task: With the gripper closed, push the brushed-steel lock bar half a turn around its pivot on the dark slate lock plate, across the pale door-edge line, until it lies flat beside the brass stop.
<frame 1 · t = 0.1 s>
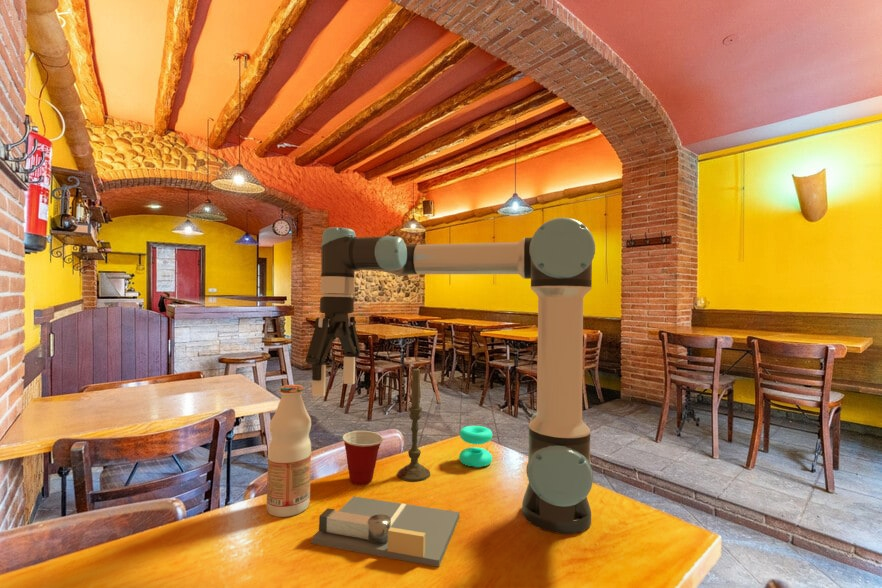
hand: (334, 389, 93), 28 cm above the table, tool pointing down, fingers open, 13 cm apart
plastic cup: (362, 481, 109), on the table
candlestick holder: (414, 475, 114), on the table
lock plate: (390, 529, 86), on the table
lock bar: (355, 524, 82), point 3 cm above the table, hinge at 0.0°
donuts: (475, 463, 124), on the table
fruit juice: (288, 508, 95), on the table
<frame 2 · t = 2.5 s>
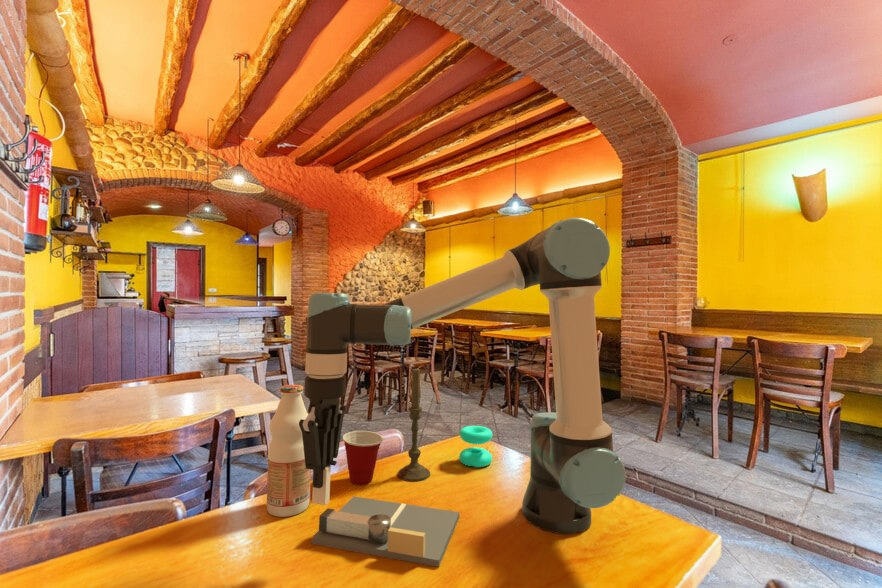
hand: (320, 502, 76), 11 cm above the table, tool pointing down, fingers closed
nothing on the table moved.
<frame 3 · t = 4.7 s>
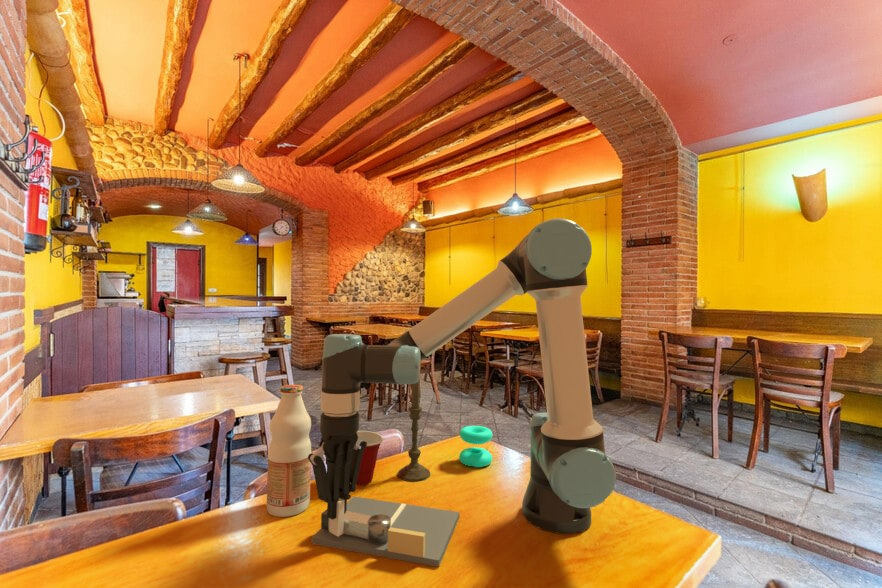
hand: (336, 532, 80), 2 cm above the table, tool pointing down, fingers closed
lock bar: (356, 523, 82), point 3 cm above the table, hinge at -4.3°, touching gripper
everything else where it was.
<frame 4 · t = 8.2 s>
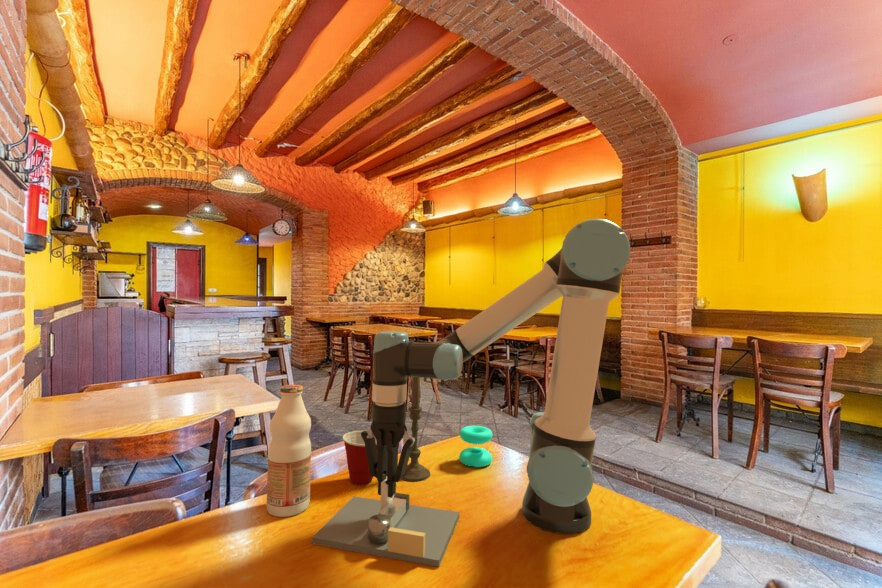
hand: (386, 510, 89), 2 cm above the table, tool pointing down, fingers closed
lock bar: (389, 515, 85), point 3 cm above the table, hinge at -92.1°, touching gripper
everything else where it was.
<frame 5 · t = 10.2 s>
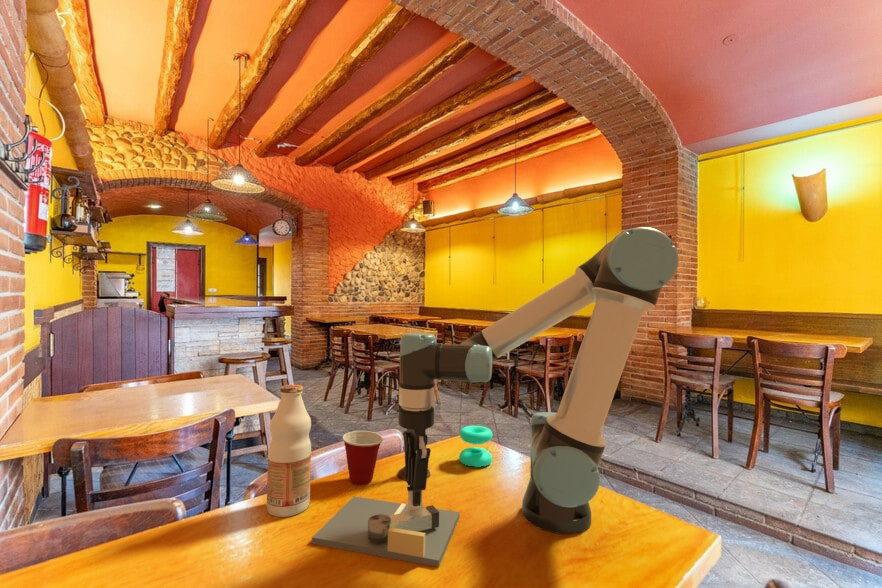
hand: (414, 518, 86), 2 cm above the table, tool pointing down, fingers closed
lock bar: (403, 522, 83), point 3 cm above the table, hinge at -139.6°, touching gripper
everything else where it was.
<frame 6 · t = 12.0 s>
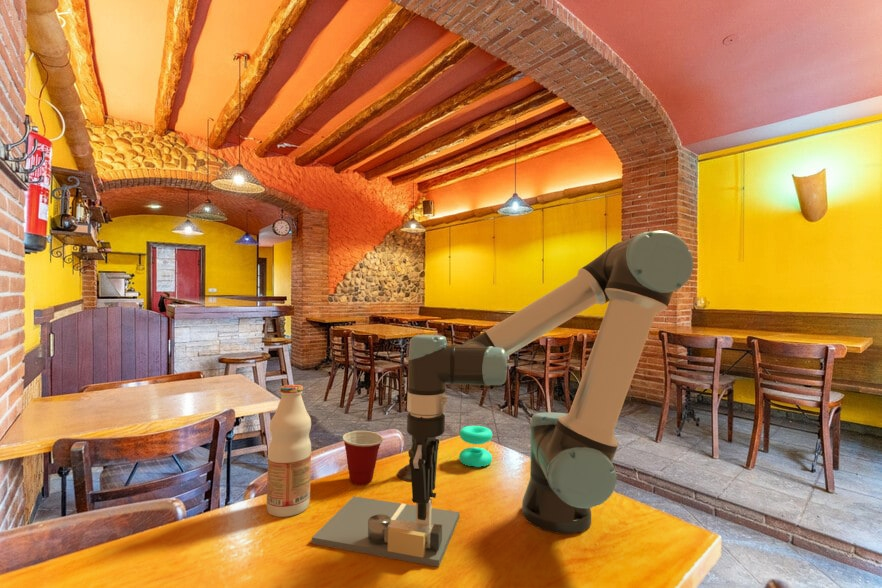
hand: (423, 532, 81), 2 cm above the table, tool pointing down, fingers closed
lock bar: (403, 531, 79), point 3 cm above the table, hinge at -177.3°, touching gripper
everything else where it was.
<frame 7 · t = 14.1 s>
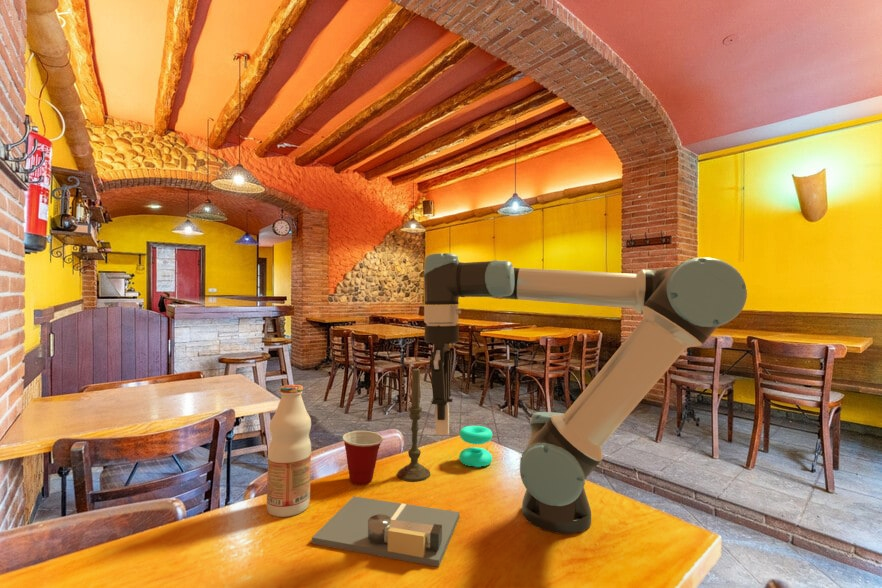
hand: (442, 433, 88), 20 cm above the table, tool pointing down, fingers closed
lock bar: (403, 531, 79), point 3 cm above the table, hinge at -177.4°
everything else where it was.
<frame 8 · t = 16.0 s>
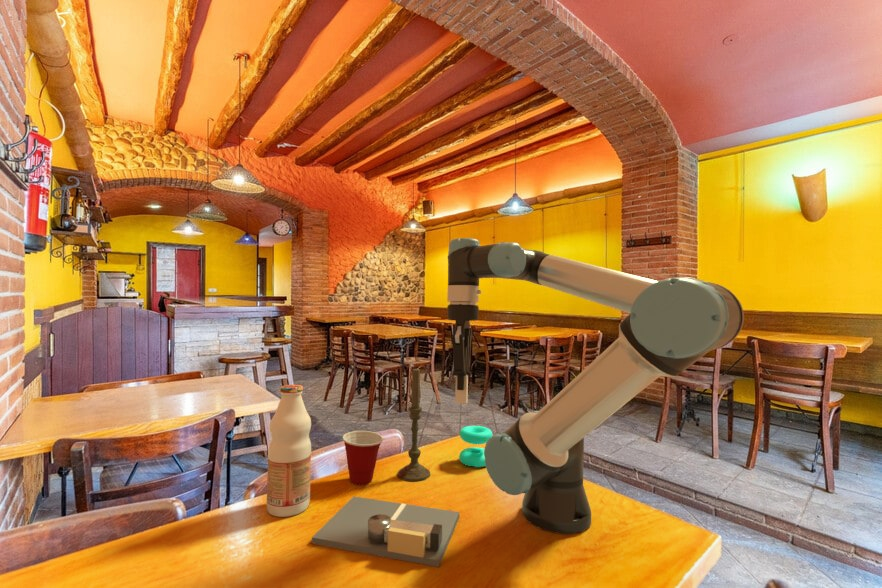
hand: (461, 402, 97), 24 cm above the table, tool pointing down, fingers closed
nothing on the table moved.
at the end: lock bar at -177° (first picture: +0°) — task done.
